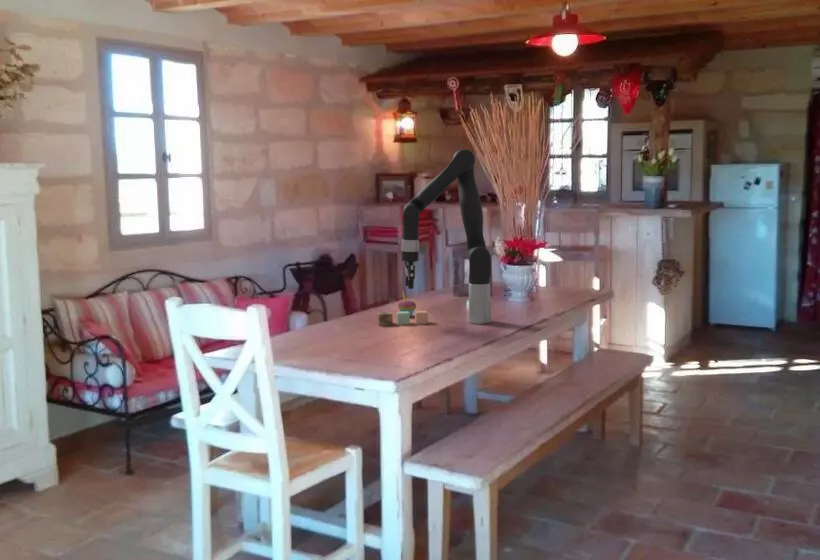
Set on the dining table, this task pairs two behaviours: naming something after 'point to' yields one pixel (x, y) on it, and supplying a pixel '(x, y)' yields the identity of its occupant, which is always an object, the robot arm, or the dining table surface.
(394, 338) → the dining table surface
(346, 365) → the dining table surface
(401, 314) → the sage block
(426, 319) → the tan block
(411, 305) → the cupcake
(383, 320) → the walnut base
